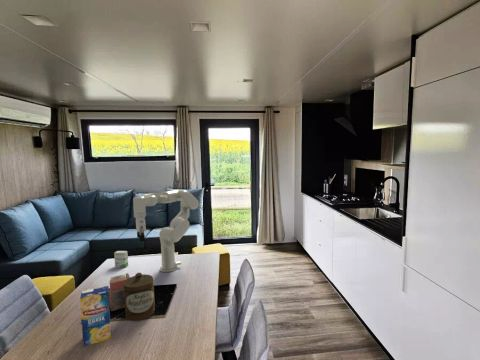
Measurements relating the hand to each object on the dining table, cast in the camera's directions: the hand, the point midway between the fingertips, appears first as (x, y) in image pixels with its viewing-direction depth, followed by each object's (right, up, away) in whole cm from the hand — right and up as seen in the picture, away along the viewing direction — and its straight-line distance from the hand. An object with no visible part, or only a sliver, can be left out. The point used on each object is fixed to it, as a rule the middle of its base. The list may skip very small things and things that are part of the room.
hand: (141, 239), depth 178 cm
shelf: (-3, -30, -24) cm, 38 cm away
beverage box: (+2, -32, -58) cm, 67 cm away
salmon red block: (-2, -28, -27) cm, 39 cm away
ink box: (-25, -27, +25) cm, 45 cm away
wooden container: (+15, -31, -39) cm, 52 cm away
